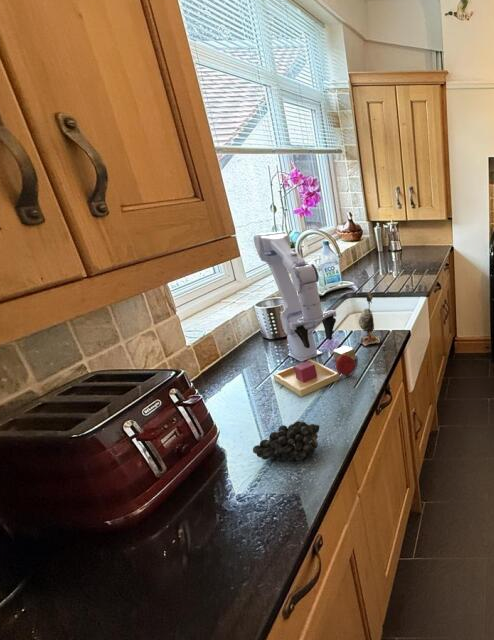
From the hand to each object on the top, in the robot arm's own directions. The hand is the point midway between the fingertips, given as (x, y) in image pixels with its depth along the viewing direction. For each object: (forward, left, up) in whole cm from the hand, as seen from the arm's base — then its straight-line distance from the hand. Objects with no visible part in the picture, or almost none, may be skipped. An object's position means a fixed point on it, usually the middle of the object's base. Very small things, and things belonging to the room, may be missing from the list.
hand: (318, 343), depth 130 cm
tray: (+2, -7, -9) cm, 12 cm away
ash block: (0, +8, -9) cm, 12 cm away
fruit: (+33, -28, -10) cm, 45 cm away
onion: (+11, +2, -10) cm, 15 cm away
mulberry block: (+3, -7, -9) cm, 12 cm away
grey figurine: (-6, +23, -10) cm, 25 cm away
